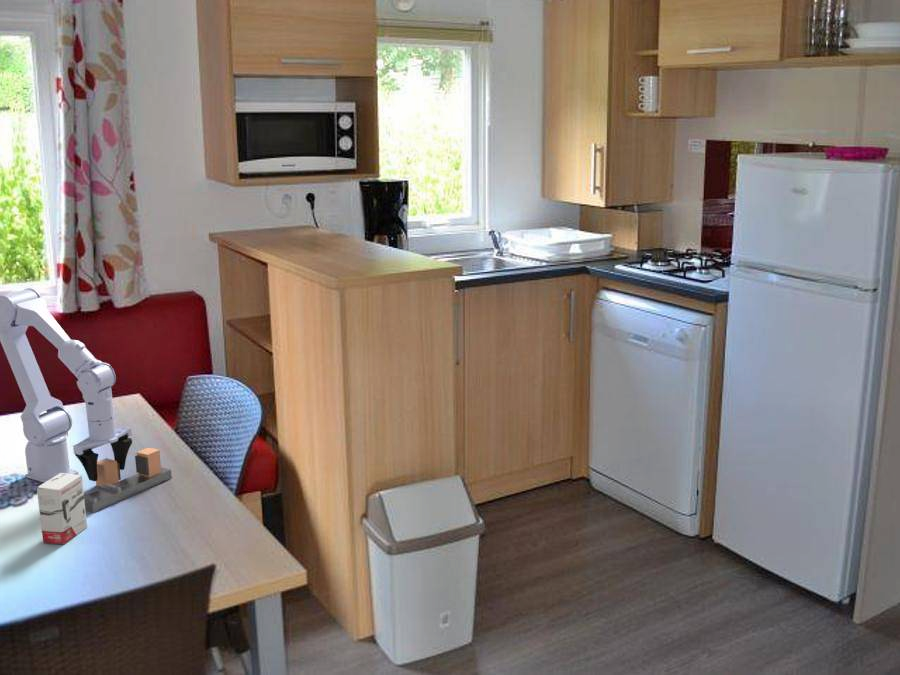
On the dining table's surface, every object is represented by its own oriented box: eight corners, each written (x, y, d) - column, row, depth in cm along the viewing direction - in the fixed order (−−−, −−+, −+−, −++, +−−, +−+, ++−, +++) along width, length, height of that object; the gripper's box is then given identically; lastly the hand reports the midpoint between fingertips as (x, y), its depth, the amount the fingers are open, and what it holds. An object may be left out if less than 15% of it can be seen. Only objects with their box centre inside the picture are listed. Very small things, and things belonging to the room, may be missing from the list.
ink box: (64, 545, 187) (57, 489, 184) (42, 543, 187) (35, 488, 185) (88, 526, 195) (83, 473, 192) (67, 524, 196) (61, 471, 193)
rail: (78, 507, 204) (76, 494, 203) (156, 473, 222) (155, 461, 222) (93, 512, 201) (92, 499, 201) (171, 477, 220) (170, 465, 219)
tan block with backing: (96, 485, 216) (93, 463, 215) (110, 479, 219) (108, 457, 218) (106, 488, 214) (104, 465, 213) (121, 482, 217) (118, 460, 216)
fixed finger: (136, 475, 216) (134, 452, 215) (150, 469, 219) (148, 447, 218) (147, 478, 214) (145, 455, 213) (161, 472, 218) (159, 450, 216)
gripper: (85, 430, 204) (92, 488, 208) (138, 411, 217) (143, 467, 220) (64, 425, 208) (71, 482, 211) (117, 407, 220) (123, 461, 223)
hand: (106, 474), depth 216 cm, fingers open, 7 cm apart
